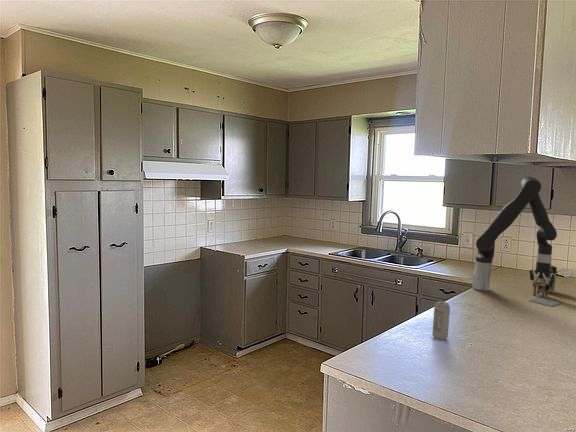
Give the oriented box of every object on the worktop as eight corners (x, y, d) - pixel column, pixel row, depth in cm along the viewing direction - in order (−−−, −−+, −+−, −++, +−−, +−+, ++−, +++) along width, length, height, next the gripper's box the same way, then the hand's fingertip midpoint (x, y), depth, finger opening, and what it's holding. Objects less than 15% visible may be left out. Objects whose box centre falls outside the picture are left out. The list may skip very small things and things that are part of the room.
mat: (528, 301, 238) (528, 300, 238) (538, 298, 245) (538, 297, 245) (551, 306, 228) (551, 306, 228) (561, 303, 235) (561, 303, 235)
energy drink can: (450, 340, 173) (453, 305, 171) (437, 341, 171) (440, 305, 170) (442, 335, 178) (445, 300, 177) (429, 335, 177) (432, 301, 176)
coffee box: (538, 291, 260) (540, 265, 259) (534, 288, 266) (537, 263, 265) (554, 293, 258) (557, 267, 257) (550, 290, 264) (553, 265, 263)
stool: (532, 295, 251) (534, 282, 250) (537, 293, 254) (538, 280, 254) (543, 297, 246) (544, 284, 245) (548, 296, 250) (549, 283, 249)
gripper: (528, 259, 252) (525, 287, 253) (554, 264, 240) (551, 292, 242) (534, 258, 256) (531, 285, 258) (560, 263, 245) (557, 291, 246)
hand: (541, 289), depth 250 cm, fingers closed on stool, 6 cm apart
